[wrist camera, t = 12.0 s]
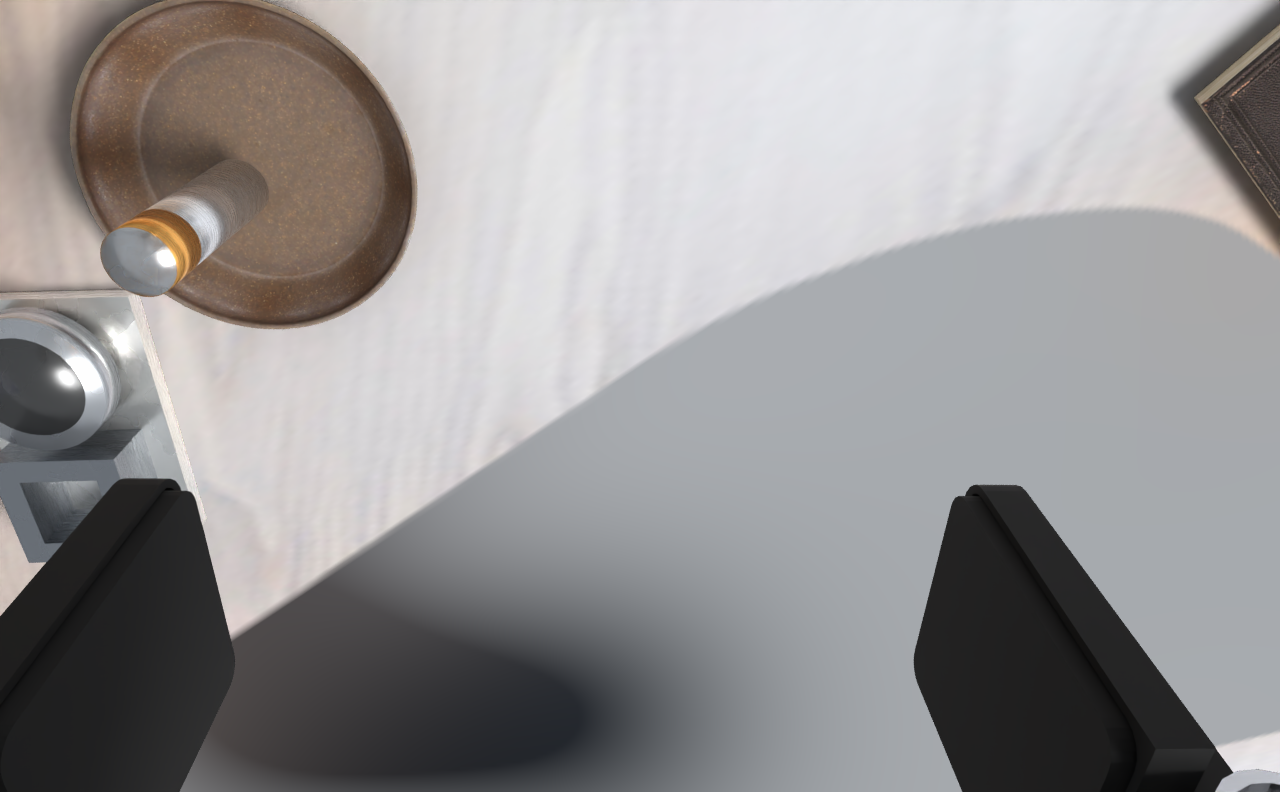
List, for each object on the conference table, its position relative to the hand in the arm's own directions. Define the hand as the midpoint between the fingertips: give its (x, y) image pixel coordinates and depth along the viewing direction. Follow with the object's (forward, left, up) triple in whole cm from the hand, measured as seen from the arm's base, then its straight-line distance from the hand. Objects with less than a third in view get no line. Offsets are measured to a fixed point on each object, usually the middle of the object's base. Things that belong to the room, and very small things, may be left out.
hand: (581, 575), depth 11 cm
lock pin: (+3, -16, -31) cm, 35 cm away
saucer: (+3, -16, -34) cm, 37 cm away
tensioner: (+16, -28, -33) cm, 46 cm away
